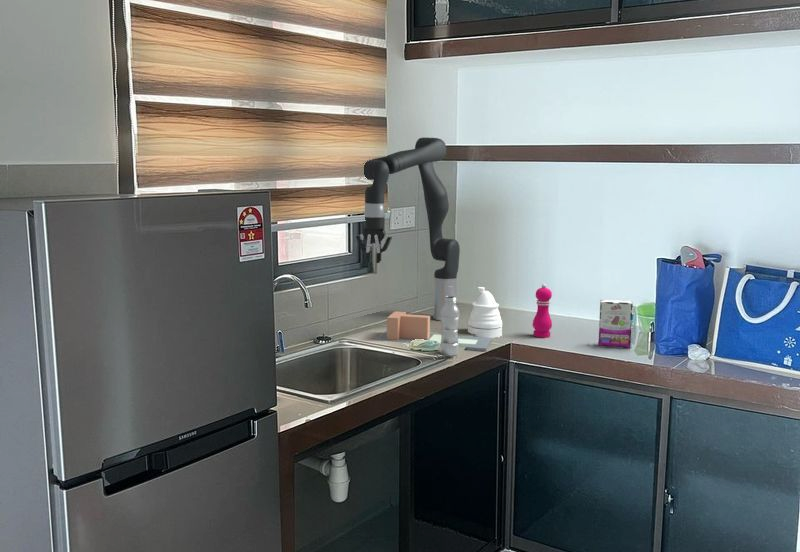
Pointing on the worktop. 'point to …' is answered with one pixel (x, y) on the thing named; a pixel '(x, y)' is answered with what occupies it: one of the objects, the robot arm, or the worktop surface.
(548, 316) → the pepper mill
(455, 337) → the plastic bottle
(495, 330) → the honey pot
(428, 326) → the t block
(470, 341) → the board
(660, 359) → the worktop surface
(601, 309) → the candy bar box
